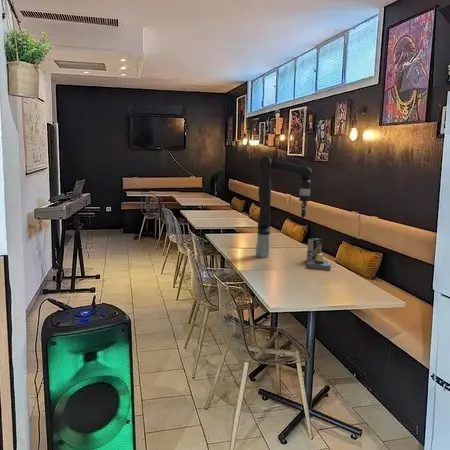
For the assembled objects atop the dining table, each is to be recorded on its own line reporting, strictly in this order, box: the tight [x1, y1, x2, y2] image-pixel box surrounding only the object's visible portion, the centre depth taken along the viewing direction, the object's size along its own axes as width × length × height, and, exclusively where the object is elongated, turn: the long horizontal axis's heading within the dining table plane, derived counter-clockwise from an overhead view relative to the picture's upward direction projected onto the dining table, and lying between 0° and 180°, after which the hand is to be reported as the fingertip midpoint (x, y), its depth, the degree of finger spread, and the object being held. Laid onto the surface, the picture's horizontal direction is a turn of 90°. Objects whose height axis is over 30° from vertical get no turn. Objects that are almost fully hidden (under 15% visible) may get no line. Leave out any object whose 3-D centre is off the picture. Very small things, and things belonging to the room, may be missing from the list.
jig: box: [306, 259, 332, 271], centre depth 323 cm, size 16×16×4 cm
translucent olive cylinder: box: [316, 252, 324, 264], centre depth 323 cm, size 4×4×9 cm
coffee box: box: [306, 237, 323, 261], centre depth 342 cm, size 9×6×16 cm
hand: (303, 216), depth 341 cm, fingers open, 8 cm apart
